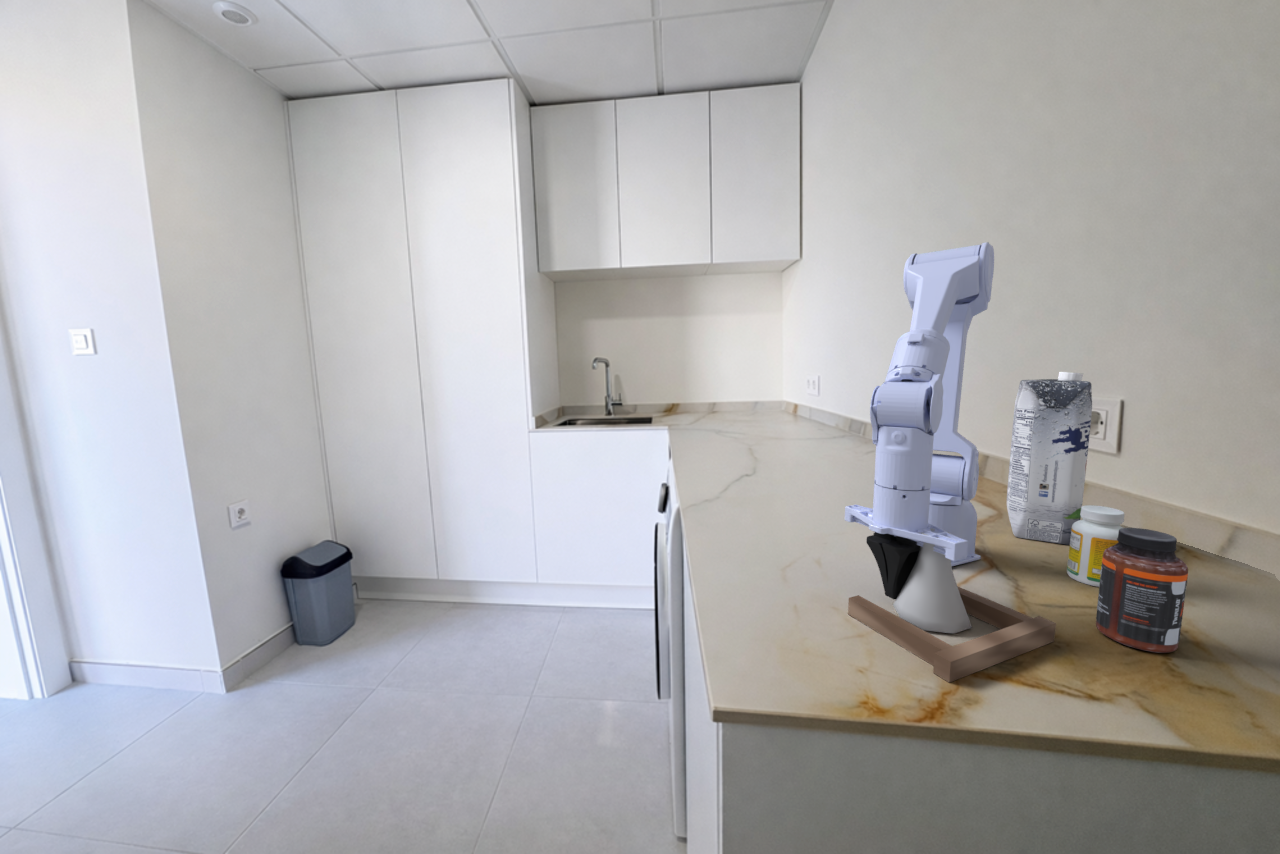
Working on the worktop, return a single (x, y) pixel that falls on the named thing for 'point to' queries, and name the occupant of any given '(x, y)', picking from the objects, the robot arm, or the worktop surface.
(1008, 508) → the juice carton
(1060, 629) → the worktop surface
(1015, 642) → the walnut bay
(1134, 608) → the supplement bottle
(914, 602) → the flask
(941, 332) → the robot arm
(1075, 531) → the supplement bottle
